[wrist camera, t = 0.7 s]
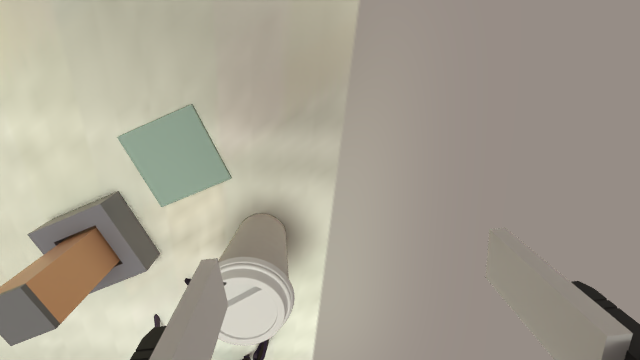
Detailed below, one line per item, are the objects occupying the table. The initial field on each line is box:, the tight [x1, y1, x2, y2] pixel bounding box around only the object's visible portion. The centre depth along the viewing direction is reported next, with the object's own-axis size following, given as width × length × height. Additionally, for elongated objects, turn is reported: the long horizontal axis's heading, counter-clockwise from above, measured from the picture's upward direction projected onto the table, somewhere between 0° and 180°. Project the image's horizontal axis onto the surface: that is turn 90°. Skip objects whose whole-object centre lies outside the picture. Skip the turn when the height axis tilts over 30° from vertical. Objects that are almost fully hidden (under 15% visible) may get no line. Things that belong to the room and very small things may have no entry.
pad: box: [117, 104, 231, 207], centre depth 41 cm, size 10×10×1 cm
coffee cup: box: [218, 214, 294, 345], centre depth 38 cm, size 10×10×15 cm
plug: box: [0, 226, 120, 346], centre depth 38 cm, size 5×5×15 cm
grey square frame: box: [27, 192, 160, 294], centre depth 43 cm, size 10×10×4 cm
